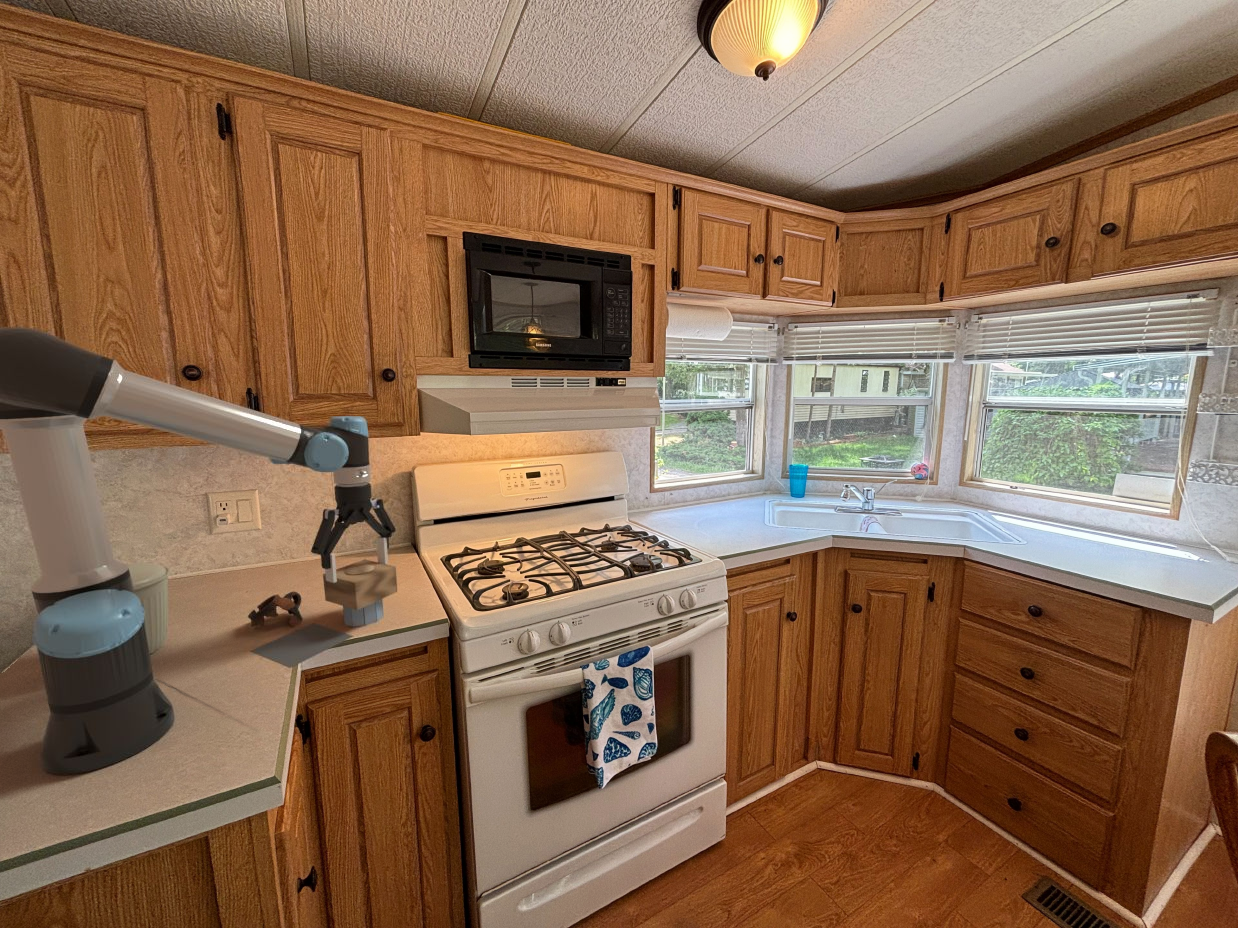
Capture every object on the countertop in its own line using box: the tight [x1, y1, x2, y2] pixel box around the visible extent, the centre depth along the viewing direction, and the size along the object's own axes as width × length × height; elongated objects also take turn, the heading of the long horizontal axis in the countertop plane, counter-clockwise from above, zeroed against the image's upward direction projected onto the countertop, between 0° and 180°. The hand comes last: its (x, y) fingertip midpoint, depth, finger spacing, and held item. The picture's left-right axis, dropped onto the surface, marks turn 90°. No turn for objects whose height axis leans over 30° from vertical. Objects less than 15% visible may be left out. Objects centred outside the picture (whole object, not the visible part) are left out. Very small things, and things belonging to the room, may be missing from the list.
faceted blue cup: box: [342, 599, 385, 627], centre depth 122 cm, size 8×9×6 cm
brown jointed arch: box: [247, 590, 303, 628], centre depth 121 cm, size 12×10×8 cm
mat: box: [249, 622, 354, 669], centre depth 111 cm, size 14×14×1 cm
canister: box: [114, 557, 172, 655], centre depth 105 cm, size 18×18×21 cm
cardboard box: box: [322, 558, 398, 610], centre depth 121 cm, size 11×11×7 cm
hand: (358, 571), depth 120 cm, fingers open, 13 cm apart
